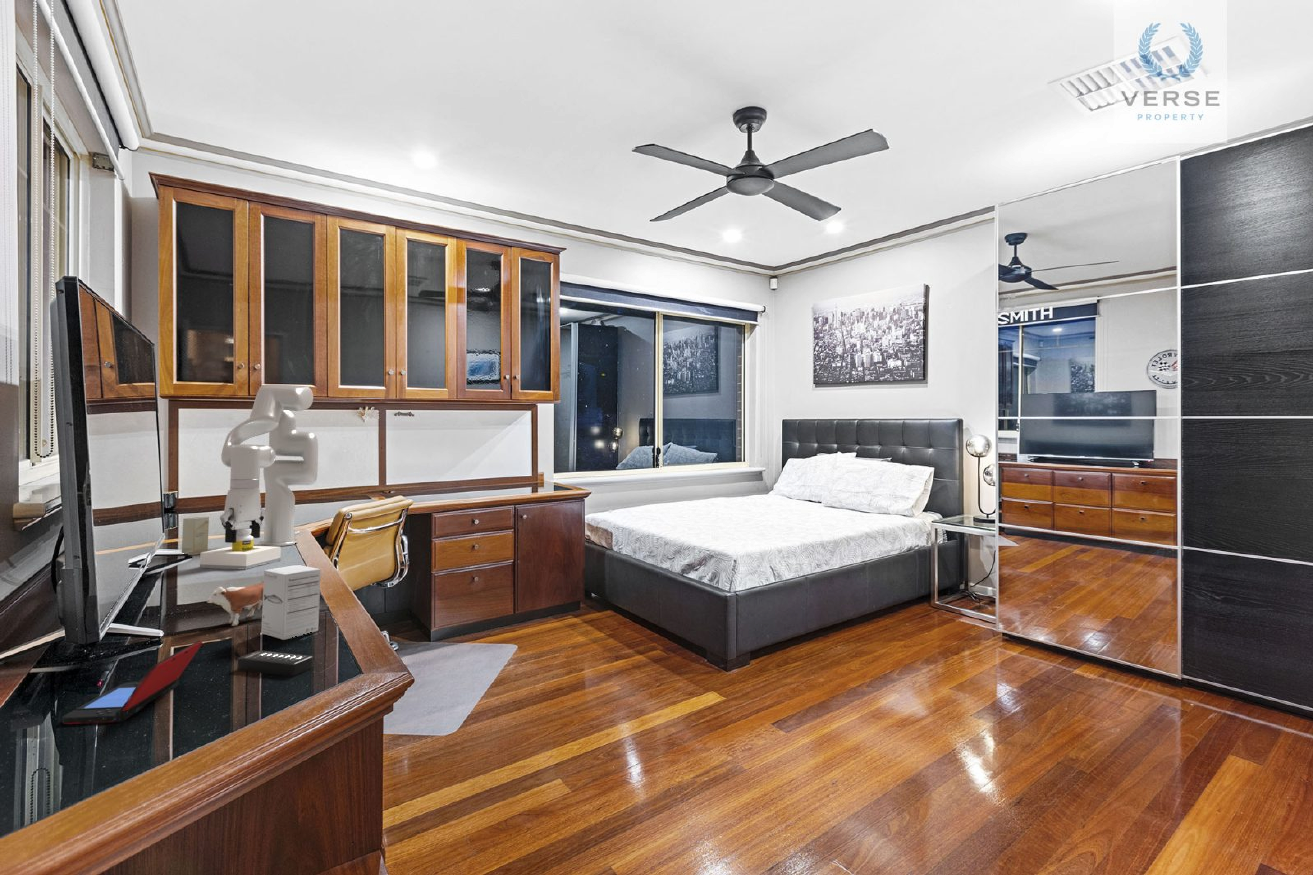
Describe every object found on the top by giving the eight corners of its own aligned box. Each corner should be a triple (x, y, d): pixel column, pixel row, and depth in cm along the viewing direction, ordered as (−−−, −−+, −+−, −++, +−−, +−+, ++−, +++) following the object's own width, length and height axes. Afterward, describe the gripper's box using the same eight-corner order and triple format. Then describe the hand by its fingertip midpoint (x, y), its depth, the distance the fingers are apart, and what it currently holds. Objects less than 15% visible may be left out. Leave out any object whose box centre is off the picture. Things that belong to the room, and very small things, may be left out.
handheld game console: (123, 689, 90) (126, 639, 90) (203, 686, 92) (205, 637, 92) (55, 727, 78) (58, 669, 78) (149, 723, 80) (152, 666, 80)
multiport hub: (292, 679, 96) (292, 664, 96) (235, 672, 98) (236, 658, 99) (313, 669, 100) (314, 655, 101) (258, 663, 103) (259, 649, 103)
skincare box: (193, 555, 199) (195, 518, 199) (180, 555, 199) (182, 518, 199) (208, 552, 205) (209, 516, 205) (195, 552, 205) (197, 516, 206)
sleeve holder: (237, 559, 194) (238, 545, 194) (280, 560, 193) (280, 546, 193) (199, 567, 179) (200, 552, 179) (246, 569, 178) (246, 554, 178)
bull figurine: (201, 629, 120) (202, 588, 120) (263, 612, 133) (264, 575, 133) (217, 631, 119) (219, 590, 119) (278, 614, 132) (279, 577, 132)
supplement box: (259, 634, 117) (262, 569, 118) (297, 625, 124) (299, 564, 124) (282, 641, 114) (284, 574, 114) (319, 631, 120) (322, 567, 121)
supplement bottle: (241, 562, 183) (243, 530, 183) (227, 561, 184) (228, 529, 185) (257, 559, 188) (258, 528, 189) (242, 558, 190) (243, 527, 190)
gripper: (254, 483, 196) (252, 535, 195) (210, 486, 178) (208, 544, 178) (275, 483, 195) (274, 536, 195) (234, 487, 178) (232, 545, 178)
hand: (242, 540), depth 186 cm, fingers open, 9 cm apart
